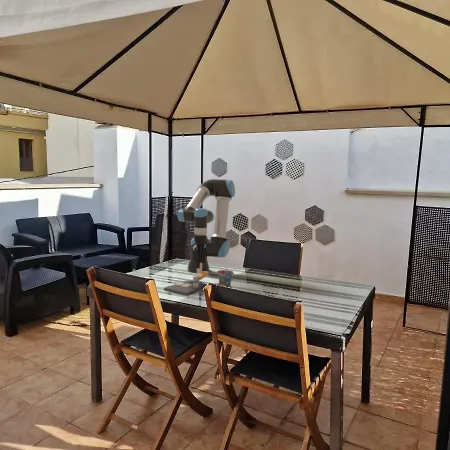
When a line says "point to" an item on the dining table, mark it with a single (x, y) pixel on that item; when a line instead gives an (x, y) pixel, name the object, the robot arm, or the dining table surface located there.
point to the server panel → (186, 287)
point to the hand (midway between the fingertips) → (199, 273)
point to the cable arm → (200, 276)
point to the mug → (225, 277)
